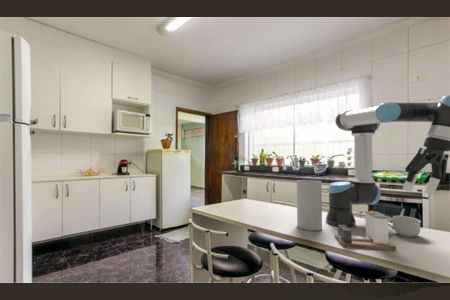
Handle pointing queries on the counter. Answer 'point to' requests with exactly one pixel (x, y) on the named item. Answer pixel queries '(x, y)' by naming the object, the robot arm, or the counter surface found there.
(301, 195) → the cylinder vase
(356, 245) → the board
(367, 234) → the white rectangular container
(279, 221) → the counter surface
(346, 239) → the end clamp
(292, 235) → the counter surface
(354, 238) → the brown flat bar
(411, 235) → the teacup
